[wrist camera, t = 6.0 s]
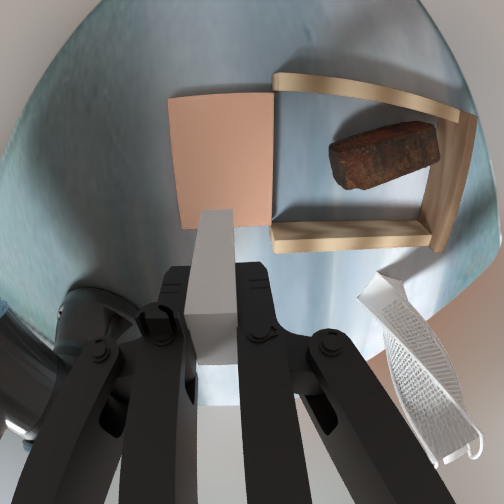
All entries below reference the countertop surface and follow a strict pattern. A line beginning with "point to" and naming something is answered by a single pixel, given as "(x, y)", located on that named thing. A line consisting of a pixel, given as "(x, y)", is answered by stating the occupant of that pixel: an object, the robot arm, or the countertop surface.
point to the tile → (223, 156)
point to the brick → (383, 154)
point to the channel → (437, 189)
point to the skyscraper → (421, 373)
